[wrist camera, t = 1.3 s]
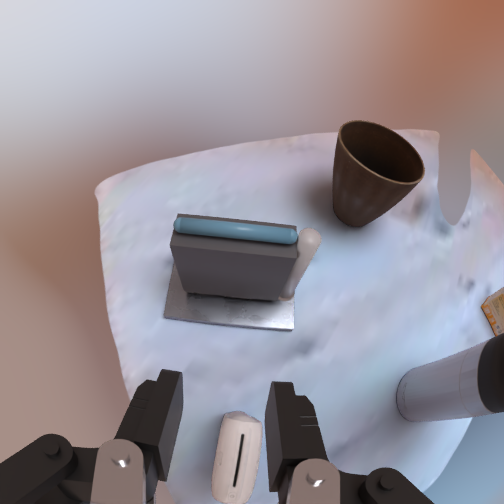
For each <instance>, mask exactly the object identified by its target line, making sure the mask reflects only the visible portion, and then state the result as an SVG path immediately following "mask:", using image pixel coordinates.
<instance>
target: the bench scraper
mask: <svg viewBox="0 0 504 504" xmlns="http://www.w3.org/2000/svg"><path fill="white" fill-rule="evenodd" d="M173 226H174V230H173V234H172V238H171V242H170V248H171V251H172V255H173V258H174V261H175V265H176V268H177V271H178V274H179V278H180V281H181V284H182V287H183V290H184V291H187V292H196V293H204V294H213V295H222V296H231V297H241V298H251V299H262V300H273V301H277V300H278V298H279V296H280V297H282V298H289V297H290V296H291V295H292V294H293V292H294V290H295V288H296V287H297V285H298V283H299V281H300V280H301V278H302V276H303V274H304V273H305V271H306V269H307V267H308V265H309V264H310V262H311V260H312V258H313V256H314V255H315V253H316V251H317V249H318V247H319V245H320V243H321V236H320V234H319V233H318V232H317V231H316V230H314V229H312V228H305V229H303V230H301V231H300V233H299V235H297V232H296V226H292V225H284V224H275V223H267V222H258V221H248V220H239V219H229V218H219V217H209V216H199V215H188V214H178V215H177V219H176V220H175V221H174V224H173Z"/></svg>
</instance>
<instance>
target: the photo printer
mask: <svg viewBox="0 0 504 504" xmlns="http://www.w3.org/2000/svg"><path fill="white" fill-rule="evenodd" d="M261 445H262V423H261V422H260V421H259V420H257V419H255V418H254V417H250V416H249V415H247V414H246V413H244V412H241V411H234V412H231V413H226V414H225V415H224V418H223V421H222V425H221V429H220V433H219V439H218V445H217V450H216V455H215V460H214V467H213V474H212V479H211V480H212V486H211V487H212V496H213V497H214V498H215V499H216V500H217V501H220V502H222V503H232V504H244V503H246V502H247V501H248V500H249V498H250V496H251V494H252V492H253V488H254V485H255V480H256V476H257V471H258V466H259V459H260V453H261Z"/></svg>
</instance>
